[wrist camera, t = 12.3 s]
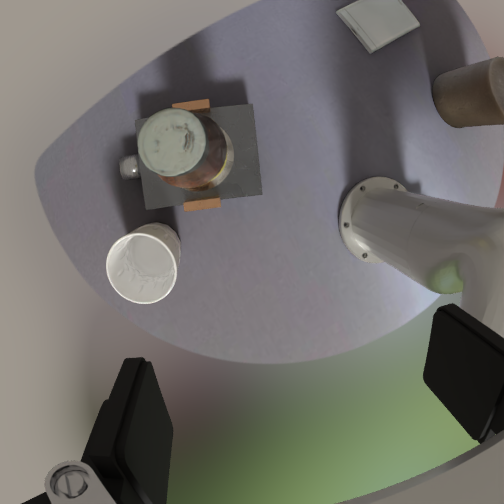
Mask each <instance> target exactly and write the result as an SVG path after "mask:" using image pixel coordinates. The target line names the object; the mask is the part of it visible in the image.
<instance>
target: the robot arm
mask: <svg viewBox="0 0 504 504" xmlns="http://www.w3.org/2000/svg"><path fill="white" fill-rule="evenodd" d="M360 187H361V188H362V189H361V190H360ZM344 223H346V224H345V225H344ZM339 230H340V235H341V238H342V240H343V243H344V244H345V246H346V247H347V249H348V250H349V251H350V252H351V253H352V254H353V255H354V256H356V257H357V258H359V259H360V260H362V261H365V262H369V263H383V262H386V263H387V264H389V265H390V266H392V267H394V268H395V269H397V270H398V271H400V272H402V273H403V274H405V275H406V276H408V277H409V278H411V279H412V280H414V281H416V282H417V283H419V284H421V285H422V286H424V287H425V288H427V289H428V290H430V291H433V292H435V293H439V294H453V293H458V292H462V296H461V300H460V305H459V307H458V306H457V305H455V304H453V303H452V304H448V305H444V306H441V307H439V308H438V309H437V311H436V313H435V314H434V316H433V322H432V329H431V335H430V341H429V347H428V352H427V357H426V363H425V367H424V372H423V379H424V382H425V383H426V385H427V386H428V387H429V388H430V389H431V391H432V392H433V393H434V394H435V395H436V396H437V397H438V399H439V400H440V401H441V402H442V403H443V404H444V406H445V407H446V408H447V409H448V410H449V411H450V412H451V414H452V415H453V416H454V417H455V418H456V420H457V421H458V422H459V423H460V424H461V426H462V427H463V428H464V429H465V430H466V432H467V433H468V434H469V435H470V436H471V437H472V439H474V440H477V441H478V442H479V443H480V445H478V446H476V447H475V448H473V449H471V450H469V451H467V452H465V453H464V454H462V455H460V456H458V457H456V458H454V459H452V460H450V461H448V462H446V463H444V464H442V465H440V466H438V467H435V468H433V469H431V470H429V471H427V472H424V473H422V474H420V475H417V476H415V477H413V478H410V479H408V480H406V481H403V482H401V483H398V484H395V485H393V486H390V487H387V488H385V489H381V490H379V491H376V492H373V493H370V494H367V495H363V496H360V497H357V498H354V499H351V500H347V501H343V502H340V503H337V504H504V208H489V207H479V206H474V205H468V204H462V203H458V202H453V201H449V200H444V199H439V198H435V197H430V196H425V195H420V194H415V193H410V192H408V191H407V190H406V188H405V187H404V186H402V185H401V184H400V183H399V182H397V181H395V180H394V179H391V178H387V177H371V178H367V179H365V180H363V181H361V182H359V183H358V184H356V185H355V186H354V187H353V188H352V189H351V190H350V191H349V193H348V194H347V196H346V197H345V199H344V201H343V203H342V206H341V209H340V215H339ZM363 253H364V254H363ZM362 254H363V255H362ZM495 434H496V435H495ZM172 439H173V426H172V422H171V419H170V416H169V414H168V411H167V408H166V405H165V402H164V400H163V397H162V394H161V391H160V388H159V385H158V382H157V379H156V376H155V373H154V369H153V366H152V363H151V362H150V361H149V362H146V361H145V359H144V358H143V357H139V358H126V359H125V360H124V362H123V364H122V367H121V369H120V372H119V374H118V377H117V379H116V381H115V384H114V386H113V389H112V391H111V394H110V396H109V399H108V400H105V401H104V402H103V404H102V406H101V408H100V411H99V413H98V416H97V419H96V421H95V424H94V427H93V429H92V432H91V434H90V437H89V440H88V442H87V445H86V448H85V451H84V453H83V456H82V459H81V462H79V461H66V462H63V463H60V464H58V465H56V466H55V467H53V468H52V469H51V470H50V471H49V472H48V474H47V476H46V478H45V489H46V492H44V493H43V494H40V495H38V496H36V497H34V498H32V499H30V500H28V501H26V502H24V503H22V504H166V501H167V488H168V478H169V468H170V458H171V447H172Z"/></svg>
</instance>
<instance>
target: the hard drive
mask: <svg viewBox="0 0 504 504" xmlns="http://www.w3.org/2000/svg"><path fill="white" fill-rule="evenodd" d="M336 14H337V15H338V16H339V17H340V18H341V19H342V20H343V21H344V23H345V24H346V25H347V26H348V27H349V28H350V30H351V31H352V32H353V33H354V35H355V36H356V37H357V38H358V39H359V41H360V42H361V43H362V44H363V46H364V47H365V48H366V50H367V51H368V52H369V53H370V54H371V53H373V52H375V51H376V50H378V49H380V48H381V47H383V46H385V45H387V44H388V43H390V42H392V41H394V40H395V39H397V38H399V37H401V36H402V35H404V34H406V33H408V32H410V31H412V30H413V29H415V28H417V27H419V26H420V23H419V22H418V20H417V19H416V18H415V17H414V15H413V14H412V13H411V11H410V10H409V9H408V8H407V7H406V5H405V4H404V3H403V2H402V1H401V0H358V1H356V2H354V3H352V4H350V5H348V6H346V7H344V8H342V9H340V10H338V11H337V12H336Z"/></svg>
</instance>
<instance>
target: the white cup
mask: <svg viewBox="0 0 504 504" xmlns="http://www.w3.org/2000/svg"><path fill="white" fill-rule="evenodd" d="M180 255H181V242H180V240H179V238H178V235H177V233H176V232H175V231H174V230H173V229H172V228H170V227H169V226H168V225H166V224H162V223H158V222H155V223H149V224H145V225H144V226H141V227H139V228H137V229H135V230H133V231H131V232H130V233H128V234H127V235H125V236H123V237H121V238H120V239H119V240H117V241H116V242H115V243H114V244H113V246H112V247H111V249H110V251H109V253H108V256H107V261H106V270H107V275H108V278H109V281H110V283H111V285H112V286H113V288H114V289H115V290H116V291H117V292H118V293H119V294H120V295H121V296H122V297H124V298H125V299H127V300H129V301H132V302H135V303H140V304H149V303H154V302H157V301H159V300H161V299H162V298H164V297H165V296H166V295H167V294H168V293H169V292H170V291H171V289H172V288H173V286H174V284H175V281H176V277H177V272H178V267H179V262H180Z"/></svg>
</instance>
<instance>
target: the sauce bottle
mask: <svg viewBox="0 0 504 504" xmlns="http://www.w3.org/2000/svg"><path fill="white" fill-rule="evenodd" d="M137 146H138V153H139V155H140V158H141V160H142V162H143V163H144V164H145V166H146V167H147V168H148V169H149V170H151V171H152V172H154V173H156V174H157V175H158V176H159V177H160V178H161V179H162V180H163V181H165V182H166V183H168V184H170V185H172V186H176V187H181V188H193V187H198V186H202V185H204V184H206V183H208V182H210V181H212V180H213V179H215V178H216V177H217V176H218V175H219V174H220V173H221V172H222V171H223V169H224V167H225V165H226V161H227V143H226V139H225V136H224V134H223V132H222V130H221V128H220V127H219V126H218V124H217V123H216V122H215V121H213V120H212V119H211V118H209V117H208V116H205V115H203V114H200V113H192V112H190V111H188V110H186V109H181V108H165V109H163V110H160V111H158V112H156V113H155V114H153V115H152V116H150V117H149V119H148V120H147V121H145V123H144V124H143V126H142V128H141V129H140V132H139V136H138V141H137Z"/></svg>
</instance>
